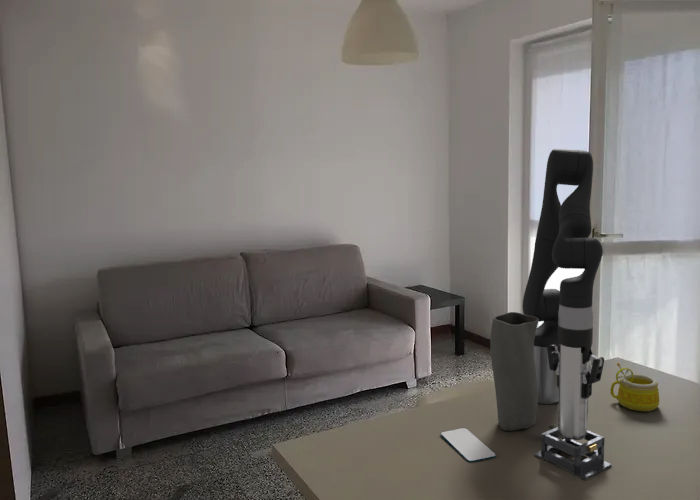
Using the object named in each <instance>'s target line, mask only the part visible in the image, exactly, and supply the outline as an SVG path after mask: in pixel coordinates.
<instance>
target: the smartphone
mask: <svg viewBox="0 0 700 500" xmlns="http://www.w3.org/2000/svg"><path fill="white" fill-rule="evenodd" d="M440 437H441V438H442V439H444V441H445V442H446V443H447V444H448V445H449V446H450V447H451V448H453V450H454V451H456V453H458V454H459V455H460V456H461V458H463V459H464V460H465V461H466V462H468V463H475V462H476V463H477V462H481V461H484V460H491V459H495V458H496V457H497V454H496V453H495V452H494V451H493V450H492V449H491V448H489V446H488V445H486V444H485V443H484V442H483V441H482V440H481V439H479V438H478V437H477V436H476V435H475V434H474V433H473V432H472V431H470V430H469V429H468V428H466V427H460V428H455V429H451V430H445V431H442V432H440Z"/></svg>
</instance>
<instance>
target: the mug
mask: <svg viewBox="0 0 700 500" xmlns="http://www.w3.org/2000/svg"><path fill="white" fill-rule="evenodd" d="M616 366H618V368H619V370H618V371H616V374H615V381H614V382H612V383H611V386H610V389H609V390H610V395H611V397H612V398H614V399H616V400H617V401H618V403H619V405H621V406H623V408H626V409H629V410H631V411H637V412H651V411H654V410H656V409H658V407H659V405H660V392H659V387H658V386H659V382H658V381H657V380H656V379H655V378H653V377H650V376H648V375H644V374H638V373H636V374H635V373H634V372H633V370H632V369H630V368H628V367H622V366H621V364H620V362H618V363H616ZM621 367H622V368H621ZM624 370H626V371H625V373H624V372H623V371H624ZM629 371H630V374H628V373H629ZM620 373H621V374H622V376H621V375H620V376H619V374H620ZM615 385H618V389H617V390H618V391H617V394H614V388H615Z"/></svg>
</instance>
